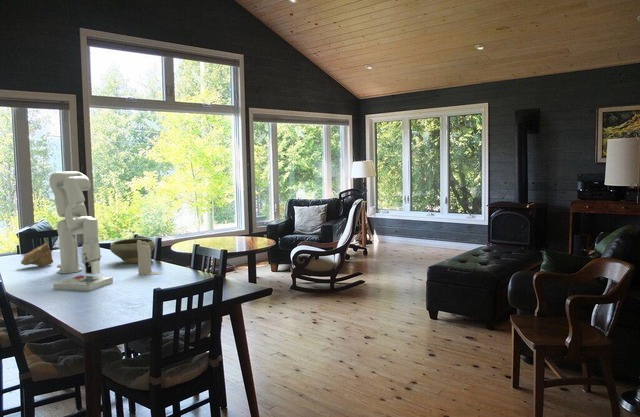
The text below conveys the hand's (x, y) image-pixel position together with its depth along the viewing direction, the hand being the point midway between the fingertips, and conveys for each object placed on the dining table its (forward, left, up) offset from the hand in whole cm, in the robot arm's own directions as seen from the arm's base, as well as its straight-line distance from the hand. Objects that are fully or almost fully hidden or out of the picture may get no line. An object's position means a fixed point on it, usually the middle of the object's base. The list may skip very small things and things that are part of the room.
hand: (92, 271), depth 283 cm
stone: (-60, +22, -4) cm, 64 cm away
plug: (0, 0, -1) cm, 1 cm away
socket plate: (+8, -17, -4) cm, 19 cm away
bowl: (-7, +47, -4) cm, 48 cm away
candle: (+26, +16, -4) cm, 31 cm away
